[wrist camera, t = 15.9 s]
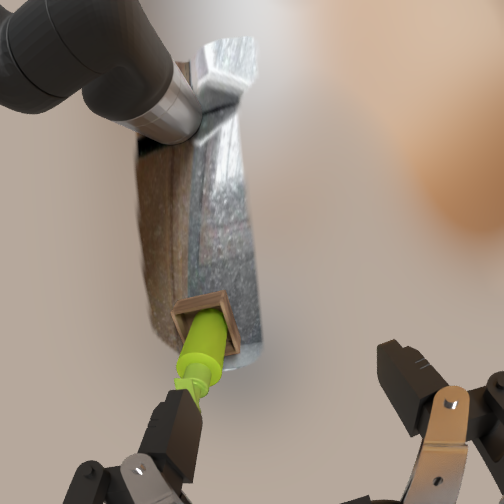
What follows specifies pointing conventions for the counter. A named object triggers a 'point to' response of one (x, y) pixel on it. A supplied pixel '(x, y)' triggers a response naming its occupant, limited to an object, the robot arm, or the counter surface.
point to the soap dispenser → (202, 354)
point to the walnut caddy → (216, 300)
